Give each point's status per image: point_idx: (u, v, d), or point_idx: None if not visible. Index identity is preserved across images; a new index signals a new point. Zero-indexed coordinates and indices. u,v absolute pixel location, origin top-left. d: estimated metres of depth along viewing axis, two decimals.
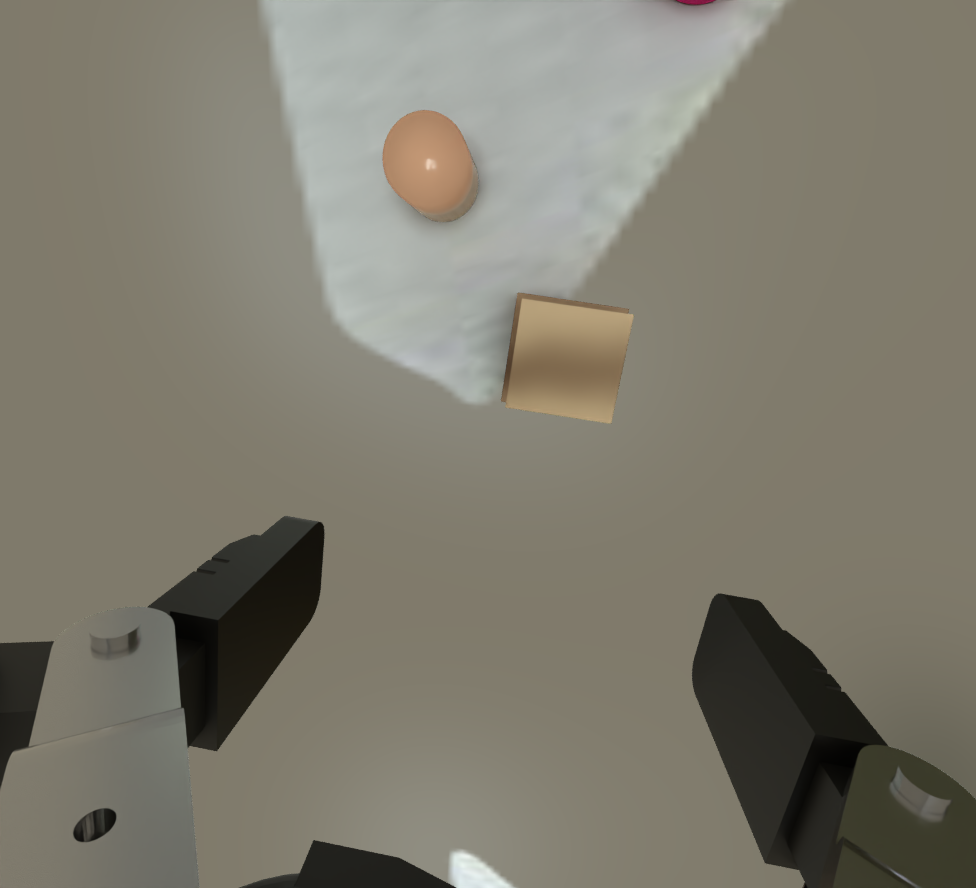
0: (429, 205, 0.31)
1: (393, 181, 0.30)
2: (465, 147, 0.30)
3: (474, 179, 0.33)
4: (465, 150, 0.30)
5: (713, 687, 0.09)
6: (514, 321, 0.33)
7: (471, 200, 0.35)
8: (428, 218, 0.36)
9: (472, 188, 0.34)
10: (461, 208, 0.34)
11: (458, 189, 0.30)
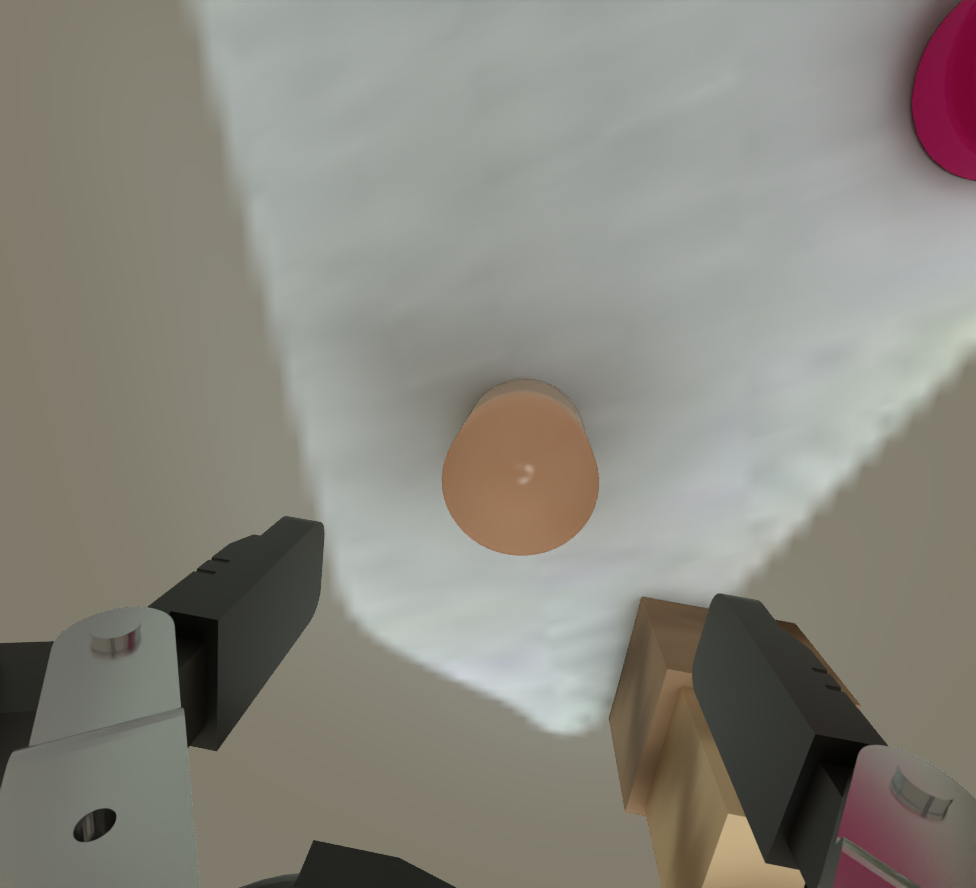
0: (523, 553, 0.17)
1: (461, 515, 0.17)
2: (595, 470, 0.16)
3: None
4: (595, 475, 0.16)
5: (713, 687, 0.09)
6: (658, 708, 0.20)
7: None
8: None
9: None
10: None
11: (576, 532, 0.17)
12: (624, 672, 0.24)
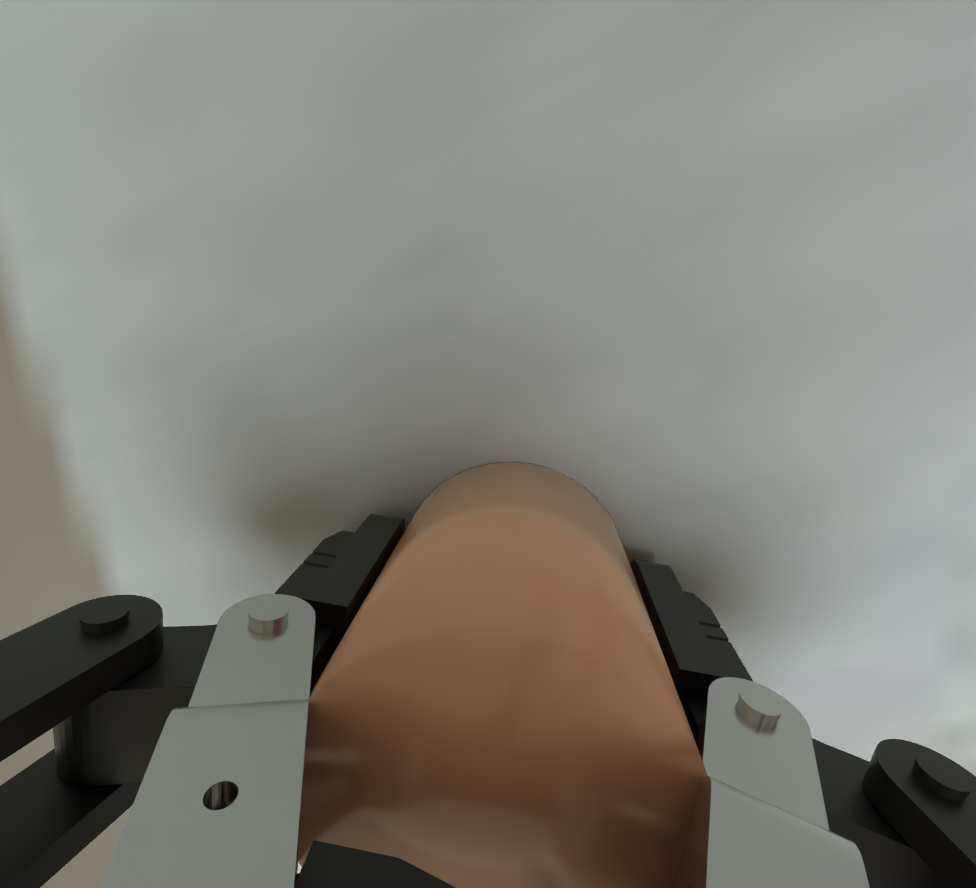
0: None
1: None
2: None
3: None
4: None
5: None
6: None
7: None
8: None
9: None
10: None
11: None
12: None
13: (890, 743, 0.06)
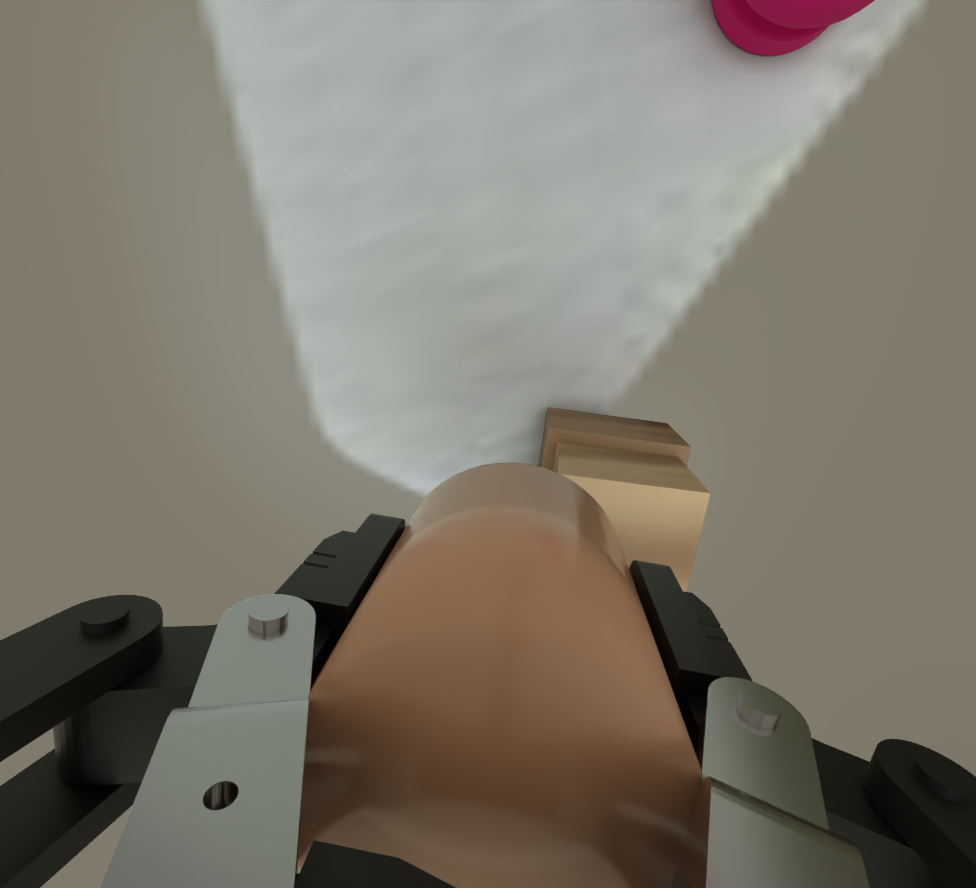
0: None
1: None
2: None
3: None
4: None
5: None
6: (545, 461, 0.26)
7: None
8: None
9: None
10: None
11: None
12: None
13: (890, 743, 0.06)
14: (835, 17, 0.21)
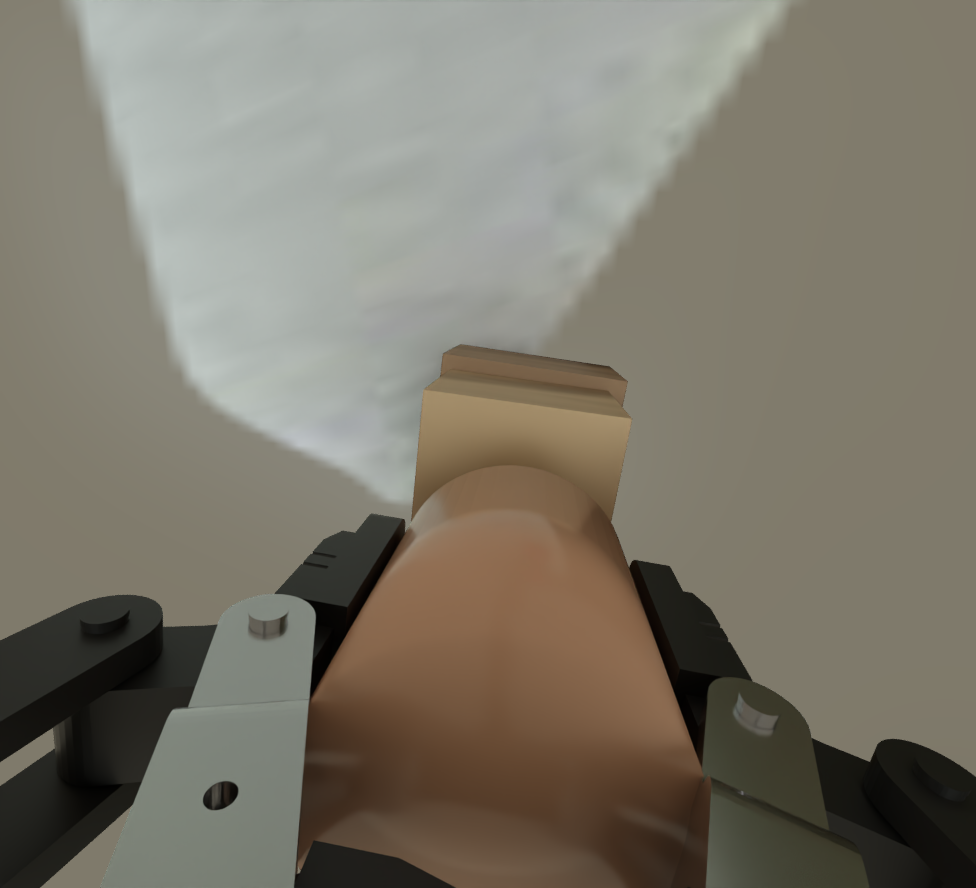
0: None
1: None
2: None
3: None
4: None
5: None
6: None
7: None
8: None
9: None
10: None
11: None
12: None
13: (890, 743, 0.06)
14: None
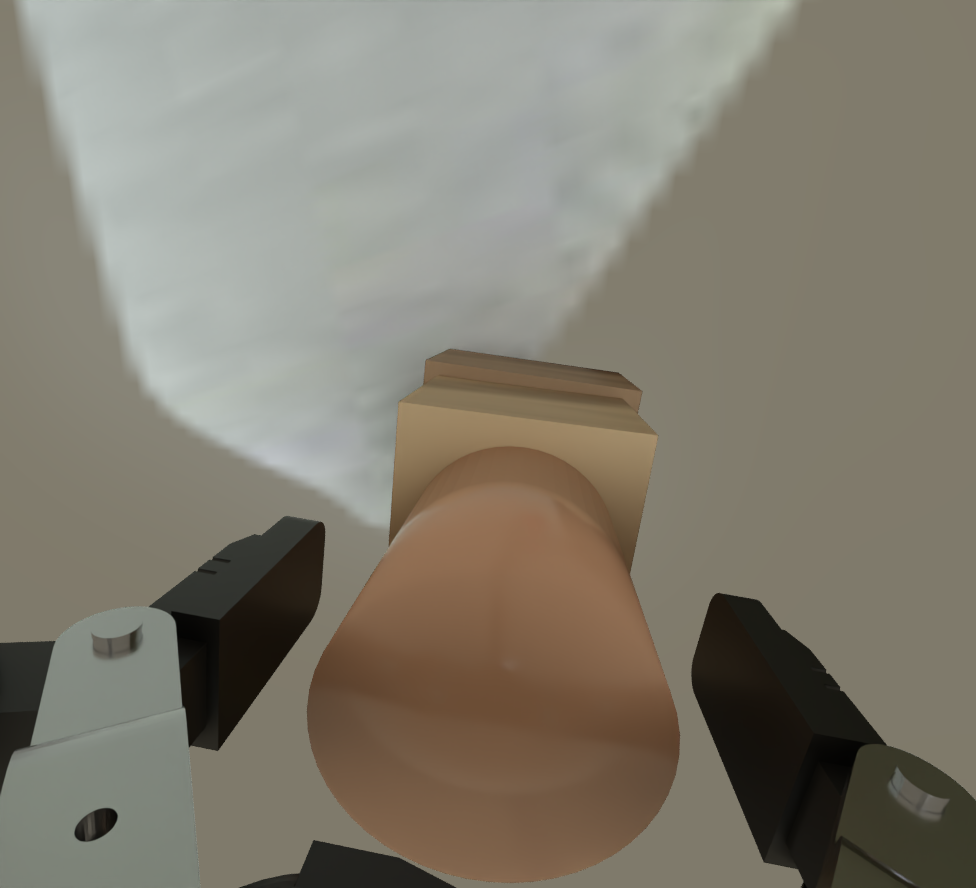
0: (504, 876, 0.08)
1: (358, 799, 0.07)
2: (672, 716, 0.07)
3: None
4: (671, 727, 0.07)
5: (712, 686, 0.10)
6: None
7: None
8: None
9: None
10: None
11: (625, 841, 0.07)
12: None
13: None
14: None
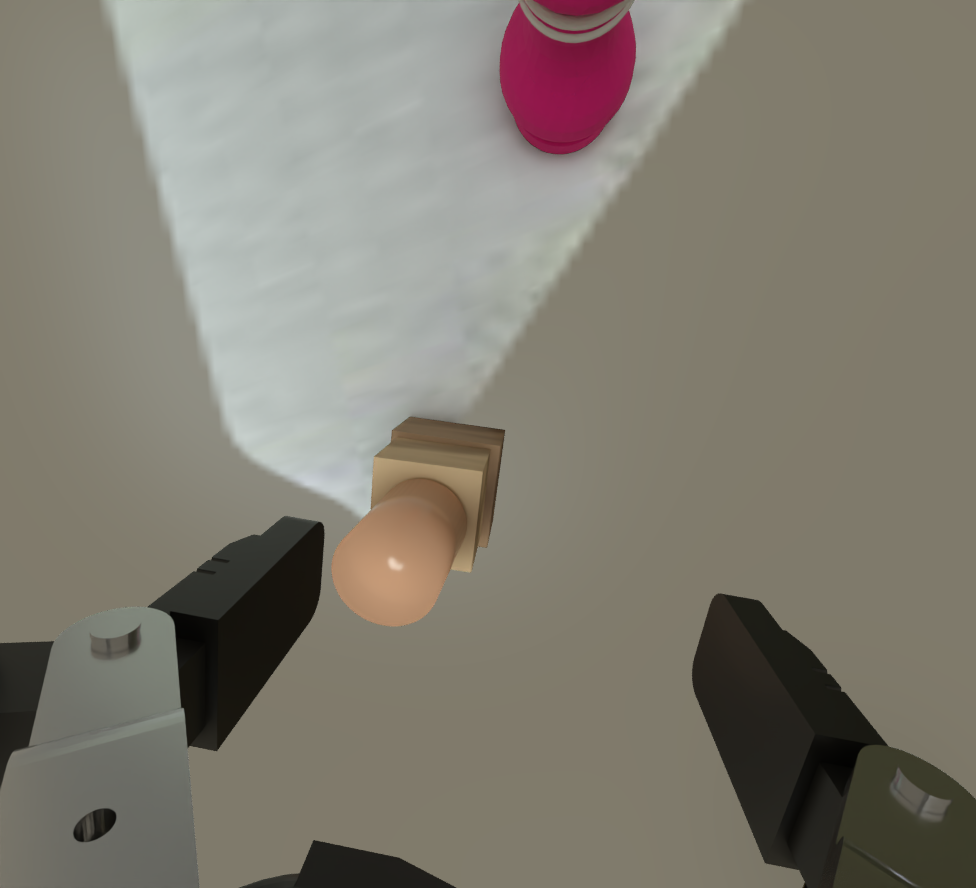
0: (397, 624, 0.24)
1: (349, 600, 0.24)
2: (434, 565, 0.22)
3: (457, 545, 0.26)
4: (435, 568, 0.22)
5: (713, 687, 0.09)
6: None
7: None
8: None
9: (456, 554, 0.26)
10: None
11: (431, 608, 0.23)
12: None
13: None
14: (576, 136, 0.29)
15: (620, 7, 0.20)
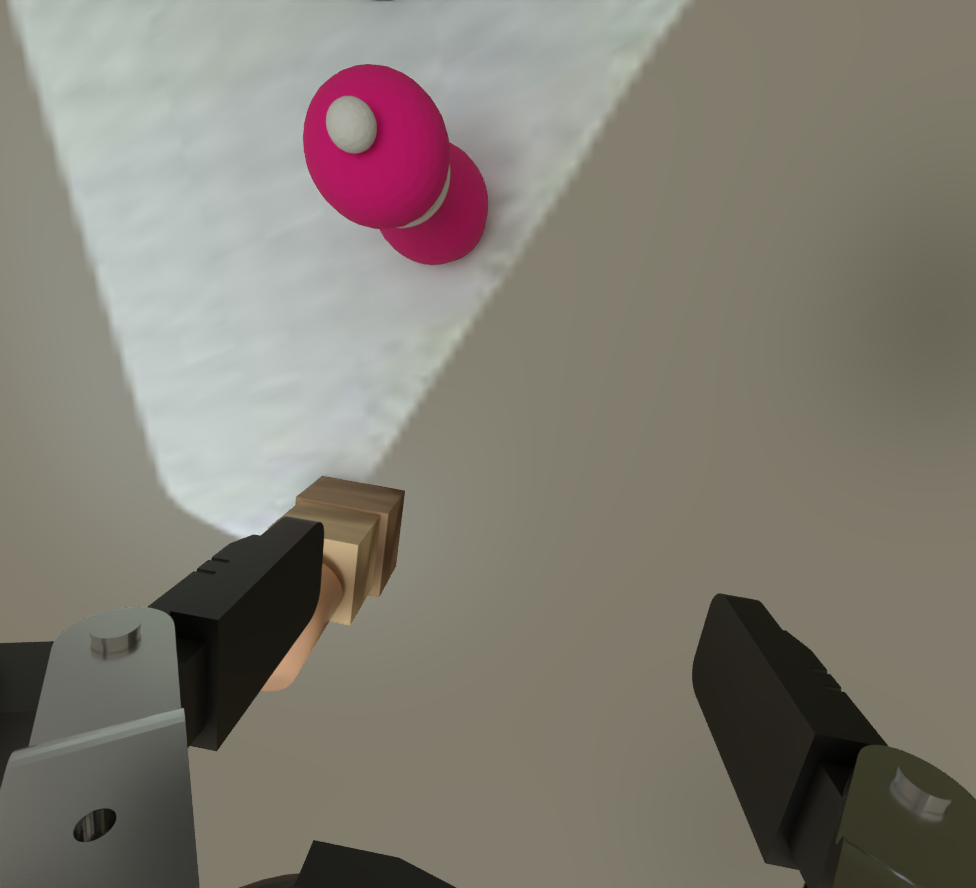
0: (283, 687, 0.29)
1: None
2: None
3: (320, 604, 0.31)
4: None
5: (713, 687, 0.09)
6: None
7: (335, 602, 0.33)
8: None
9: (324, 610, 0.31)
10: (328, 621, 0.32)
11: (296, 669, 0.28)
12: None
13: None
14: (441, 262, 0.34)
15: (427, 211, 0.25)
